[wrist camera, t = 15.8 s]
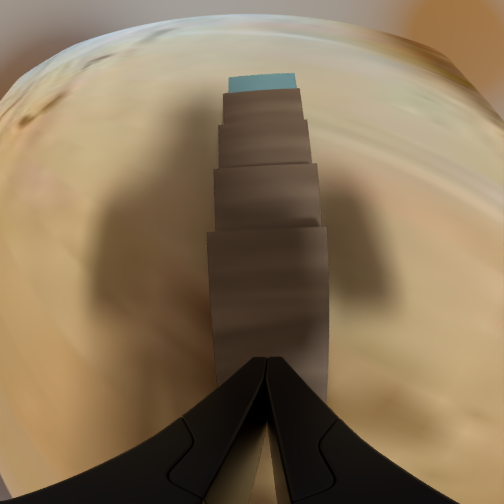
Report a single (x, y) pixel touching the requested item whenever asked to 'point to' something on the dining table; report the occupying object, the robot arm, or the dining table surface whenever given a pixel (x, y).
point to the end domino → (262, 82)
